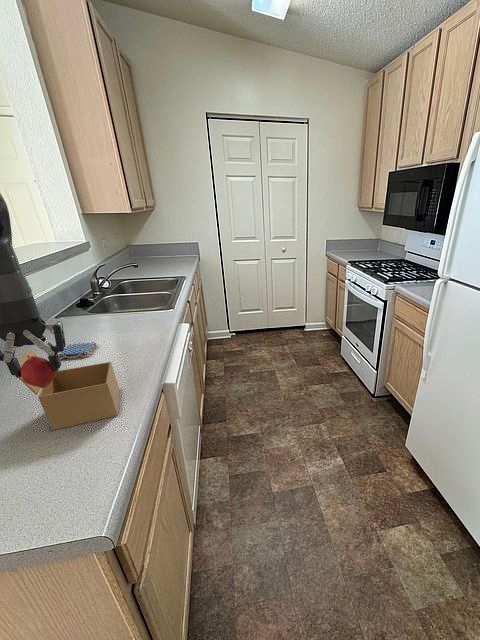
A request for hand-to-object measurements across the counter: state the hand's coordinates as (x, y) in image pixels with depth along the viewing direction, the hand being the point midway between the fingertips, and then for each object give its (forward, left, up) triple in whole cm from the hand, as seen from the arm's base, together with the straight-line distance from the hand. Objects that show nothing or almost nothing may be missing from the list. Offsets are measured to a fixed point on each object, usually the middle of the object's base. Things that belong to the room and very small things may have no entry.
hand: (38, 372), depth 71 cm
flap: (-5, +14, -5) cm, 16 cm away
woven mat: (-5, +58, -19) cm, 61 cm away
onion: (0, 0, -4) cm, 4 cm away
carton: (+3, +14, -19) cm, 24 cm away
